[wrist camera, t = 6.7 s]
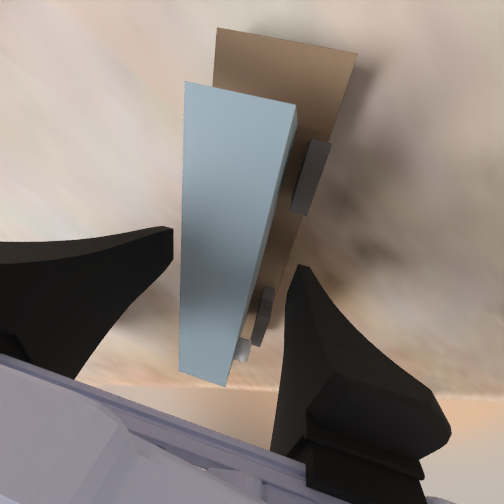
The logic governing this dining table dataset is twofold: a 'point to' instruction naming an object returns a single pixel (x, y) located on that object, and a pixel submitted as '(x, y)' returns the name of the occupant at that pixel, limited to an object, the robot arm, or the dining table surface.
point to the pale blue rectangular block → (226, 218)
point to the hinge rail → (305, 142)
